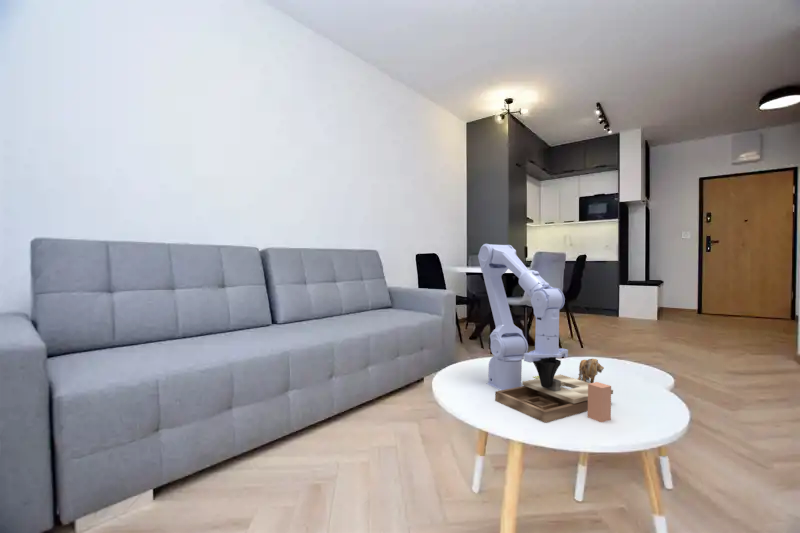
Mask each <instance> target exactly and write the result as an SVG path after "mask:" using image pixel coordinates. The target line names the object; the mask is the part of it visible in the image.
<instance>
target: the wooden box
mask: <svg viewBox="0 0 800 533" xmlns="http://www.w3.org/2000/svg"><path fill="white" fill-rule="evenodd" d="M494 393H495V395H494V397H495V398H494V401H495V402H498V403H500V404H501V405H504V406H506V407H508V408H510V409H512V410H515V411H517V412H520V413H522V414H525V415H526V416H529V417H531V418H533V419H535V420H538V421H540V422H542V423H544V424H545V423H551V422H554V421H557V420H562V419H566V418H568V417H569V418H570V417H572V416H575V415H580V414H583V413H586V412H587V413H588V400H587V401H583V402H579V403H575V404H573V403H571V402H568V401H565V400H562V399H559V398H557V397H554V396H551V395H548V394H546V393H543V392H540V391H537V390H535V389H532V388H529V387H526V386H524V385H521V387H516V388H511V389H506V390H500V389H499V390H496V391H495V392H494Z"/></svg>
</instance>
